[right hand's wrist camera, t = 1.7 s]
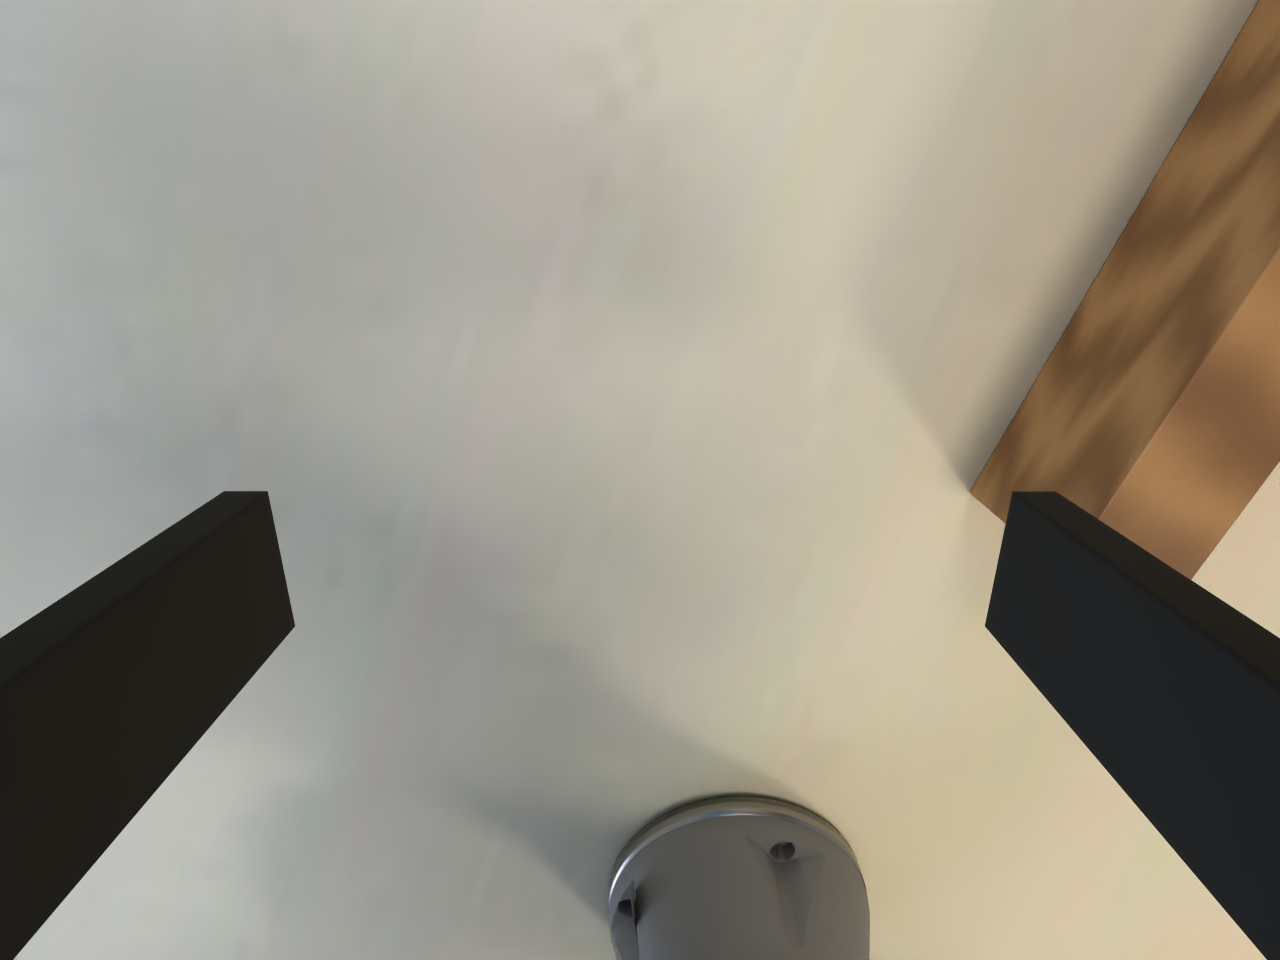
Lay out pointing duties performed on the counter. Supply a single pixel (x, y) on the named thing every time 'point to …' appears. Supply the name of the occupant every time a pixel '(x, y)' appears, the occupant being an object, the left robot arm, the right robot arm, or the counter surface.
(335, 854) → the counter surface
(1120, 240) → the beam
